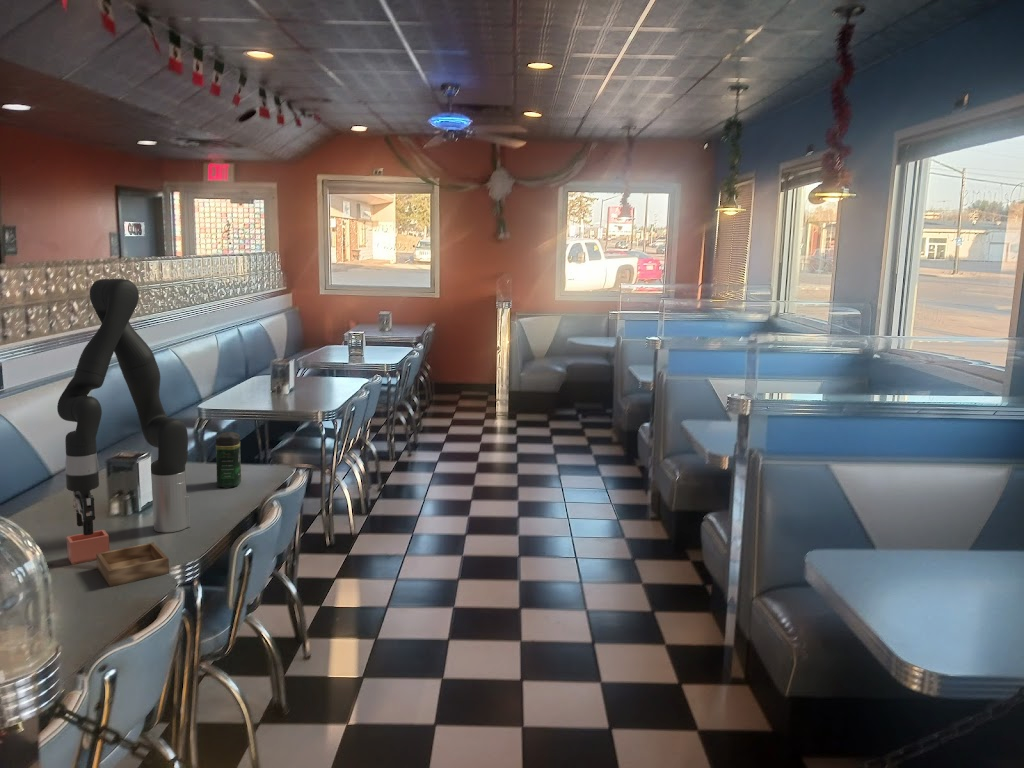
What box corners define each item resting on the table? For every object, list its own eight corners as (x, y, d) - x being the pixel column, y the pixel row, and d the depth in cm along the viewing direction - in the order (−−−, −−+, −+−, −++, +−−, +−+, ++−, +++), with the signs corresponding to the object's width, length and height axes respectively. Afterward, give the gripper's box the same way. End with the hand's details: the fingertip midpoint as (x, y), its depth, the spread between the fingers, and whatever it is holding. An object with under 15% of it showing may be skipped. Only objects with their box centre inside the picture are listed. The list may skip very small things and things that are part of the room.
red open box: (105, 550, 212) (103, 529, 211) (110, 556, 208) (108, 535, 207) (67, 558, 207) (66, 536, 206) (72, 564, 202) (70, 542, 201)
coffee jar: (239, 488, 270) (237, 436, 267) (215, 488, 269) (213, 436, 265) (243, 480, 279) (241, 429, 276) (220, 480, 278) (218, 430, 275)
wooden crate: (154, 556, 209) (153, 542, 208) (169, 573, 199) (168, 558, 198) (97, 568, 200) (96, 553, 200) (109, 586, 190) (108, 571, 189)
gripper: (104, 474, 200) (106, 535, 203) (92, 462, 211) (95, 520, 214) (71, 478, 196) (74, 540, 198) (60, 466, 206) (63, 525, 209)
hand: (84, 530), depth 206 cm, fingers open, 8 cm apart
